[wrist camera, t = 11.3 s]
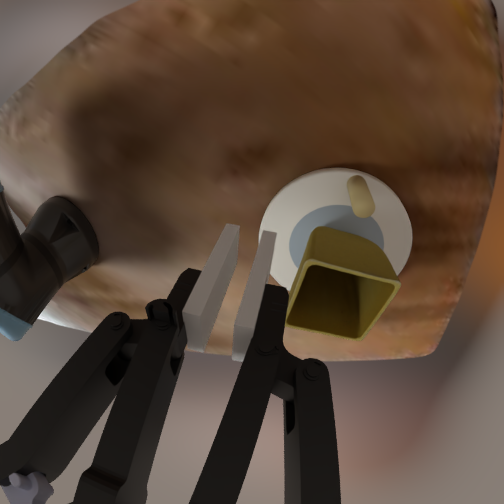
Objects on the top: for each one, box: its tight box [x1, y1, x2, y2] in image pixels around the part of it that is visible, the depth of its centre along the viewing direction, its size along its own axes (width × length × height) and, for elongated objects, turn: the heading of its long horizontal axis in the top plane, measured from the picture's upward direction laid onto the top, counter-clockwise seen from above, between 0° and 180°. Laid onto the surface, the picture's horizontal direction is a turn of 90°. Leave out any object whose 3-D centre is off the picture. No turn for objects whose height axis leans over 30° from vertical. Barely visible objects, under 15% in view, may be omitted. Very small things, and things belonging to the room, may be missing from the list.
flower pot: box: [285, 226, 401, 341], centre depth 27 cm, size 9×9×9 cm
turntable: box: [259, 168, 412, 291], centre depth 29 cm, size 18×18×7 cm
